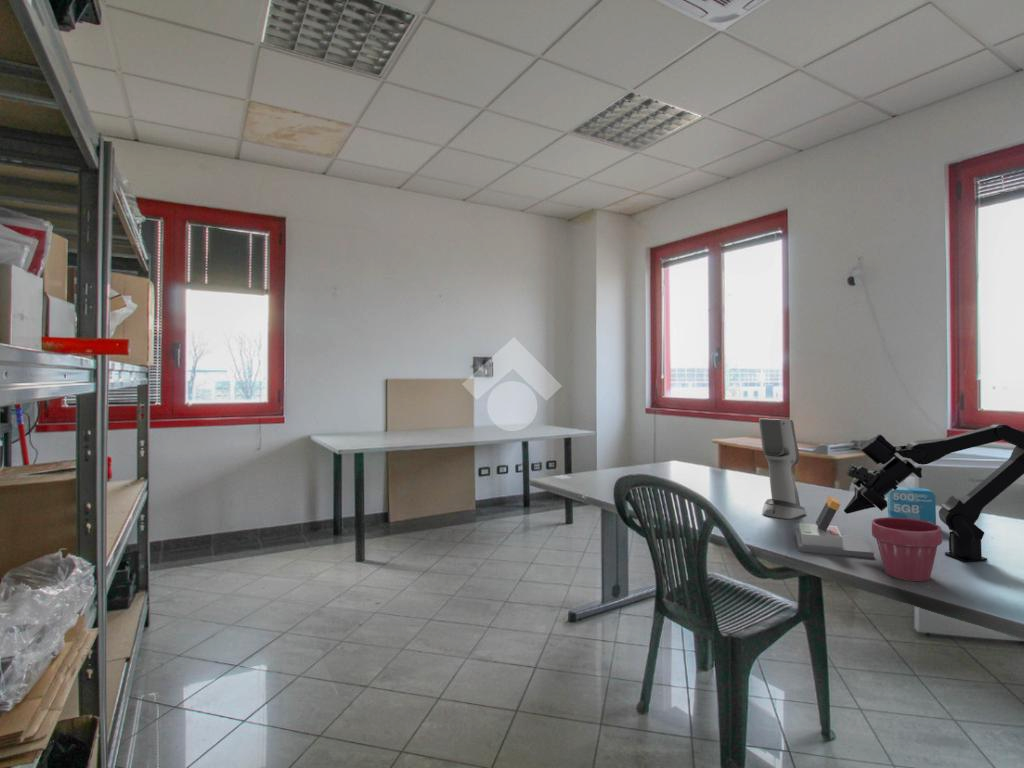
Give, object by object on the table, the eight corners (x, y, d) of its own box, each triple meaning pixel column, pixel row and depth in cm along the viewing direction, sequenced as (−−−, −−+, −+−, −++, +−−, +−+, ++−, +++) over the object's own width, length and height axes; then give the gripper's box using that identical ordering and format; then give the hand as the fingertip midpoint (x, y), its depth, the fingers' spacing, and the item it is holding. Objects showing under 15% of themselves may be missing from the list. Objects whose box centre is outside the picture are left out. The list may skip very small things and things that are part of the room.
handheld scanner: (756, 514, 195) (754, 418, 194) (775, 508, 202) (772, 415, 202) (789, 520, 185) (786, 419, 185) (807, 514, 193) (804, 416, 192)
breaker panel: (863, 541, 161) (863, 525, 161) (873, 558, 146) (873, 541, 146) (795, 535, 168) (795, 520, 168) (799, 551, 154) (798, 535, 154)
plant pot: (866, 562, 143) (865, 514, 143) (930, 567, 138) (929, 518, 138) (881, 582, 130) (879, 529, 130) (952, 588, 125) (951, 533, 125)
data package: (890, 525, 175) (889, 489, 175) (888, 522, 179) (887, 486, 179) (936, 529, 170) (935, 491, 170) (932, 525, 174) (931, 488, 174)
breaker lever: (823, 525, 161) (837, 499, 160) (825, 532, 155) (840, 504, 153) (815, 521, 162) (829, 495, 160) (817, 528, 156) (832, 500, 154)
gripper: (860, 450, 162) (818, 485, 166) (872, 460, 145) (825, 498, 150) (892, 478, 159) (849, 512, 163) (908, 491, 142) (859, 529, 146)
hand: (845, 512), depth 156 cm, fingers closed
